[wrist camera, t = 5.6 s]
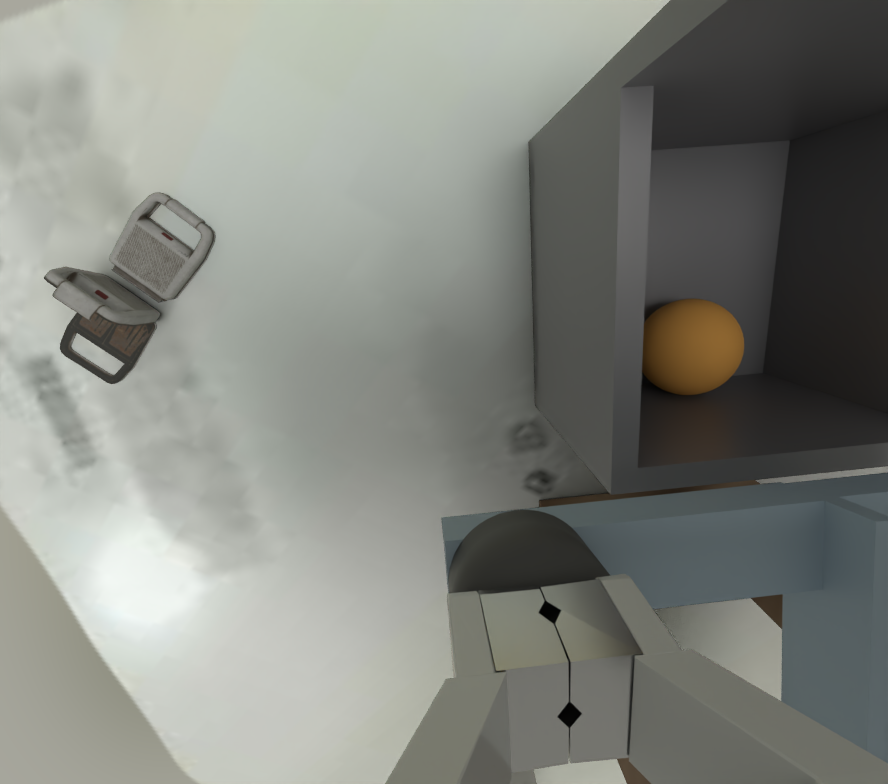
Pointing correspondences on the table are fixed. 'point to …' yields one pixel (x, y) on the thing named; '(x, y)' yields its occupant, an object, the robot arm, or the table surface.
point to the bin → (720, 243)
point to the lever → (726, 573)
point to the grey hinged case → (142, 264)
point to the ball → (691, 346)
